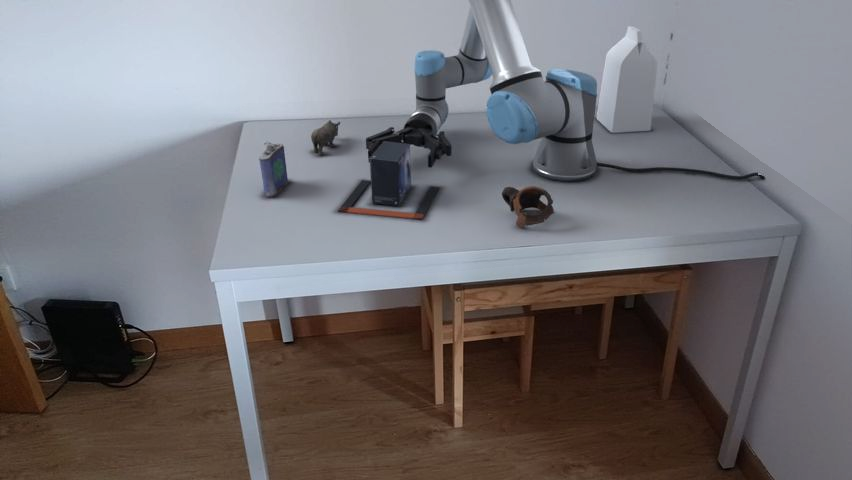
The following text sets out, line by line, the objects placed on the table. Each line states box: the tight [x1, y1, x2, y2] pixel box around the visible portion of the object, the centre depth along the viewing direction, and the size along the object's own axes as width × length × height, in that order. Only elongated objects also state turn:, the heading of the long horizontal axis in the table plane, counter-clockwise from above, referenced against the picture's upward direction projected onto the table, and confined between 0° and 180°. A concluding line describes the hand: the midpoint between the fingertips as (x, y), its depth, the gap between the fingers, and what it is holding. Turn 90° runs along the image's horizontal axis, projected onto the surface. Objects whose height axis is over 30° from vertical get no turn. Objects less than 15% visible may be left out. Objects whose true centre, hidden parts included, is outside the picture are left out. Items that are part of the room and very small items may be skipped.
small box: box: [369, 141, 412, 207], centre depth 149 cm, size 11×6×10 cm, turn 172°
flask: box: [258, 141, 289, 198], centre depth 150 cm, size 9×3×11 cm, turn 172°
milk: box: [596, 25, 658, 134], centre depth 189 cm, size 12×12×26 cm
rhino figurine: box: [310, 119, 341, 156], centre depth 174 cm, size 4×14×6 cm, turn 167°
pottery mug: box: [501, 185, 555, 229], centre depth 143 cm, size 12×10×8 cm
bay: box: [337, 179, 440, 221], centre depth 150 cm, size 18×16×1 cm
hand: (399, 159), depth 153 cm, fingers open, 13 cm apart
